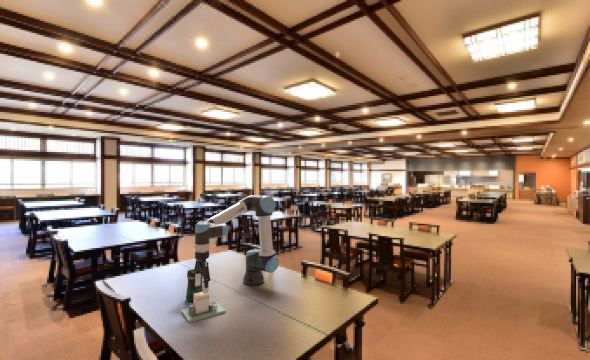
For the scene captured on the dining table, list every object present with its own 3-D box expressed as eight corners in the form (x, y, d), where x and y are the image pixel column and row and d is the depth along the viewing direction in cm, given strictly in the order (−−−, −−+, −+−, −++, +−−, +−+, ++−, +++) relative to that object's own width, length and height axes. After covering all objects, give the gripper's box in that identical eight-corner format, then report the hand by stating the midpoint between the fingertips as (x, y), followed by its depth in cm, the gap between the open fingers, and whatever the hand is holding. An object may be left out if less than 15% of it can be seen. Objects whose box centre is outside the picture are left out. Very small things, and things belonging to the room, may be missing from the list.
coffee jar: (190, 303, 163) (191, 272, 163) (184, 299, 168) (184, 269, 168) (205, 298, 170) (205, 268, 170) (198, 294, 175) (199, 265, 175)
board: (216, 303, 164) (216, 296, 164) (225, 312, 153) (225, 305, 153) (181, 311, 152) (181, 304, 152) (188, 322, 141) (188, 314, 141)
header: (208, 306, 156) (208, 298, 156) (212, 311, 151) (212, 303, 151) (188, 311, 150) (188, 303, 150) (192, 317, 144) (192, 308, 144)
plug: (205, 308, 154) (206, 290, 154) (208, 311, 151) (209, 293, 151) (193, 311, 150) (193, 293, 150) (195, 315, 146) (196, 296, 146)
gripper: (188, 247, 158) (188, 283, 158) (202, 257, 138) (202, 299, 138) (201, 245, 163) (201, 280, 163) (217, 255, 143) (216, 295, 143)
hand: (201, 289), depth 151 cm, fingers open, 13 cm apart
